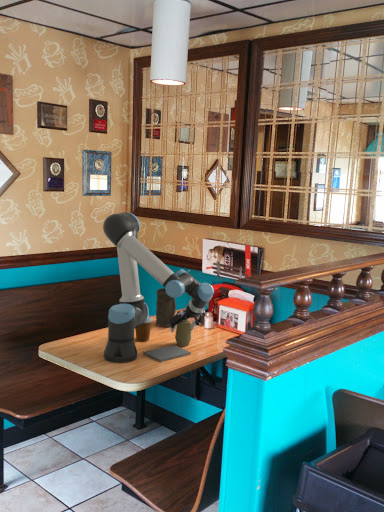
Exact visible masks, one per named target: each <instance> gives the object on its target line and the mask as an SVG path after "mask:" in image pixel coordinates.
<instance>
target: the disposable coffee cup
mask: <svg viewBox="0 0 384 512" xmlns="http://www.w3.org/2000/svg"><path fill="white" fill-rule="evenodd" d="M153 320H154V319H153V316H152V315H150V314H148V317H147V319H146V320H145V322H144V323H143V324H141V325H139V326H138V327H136V328H135V329H134V331H135V339H136V341H138V342H139V343H140V342H142V343H144V342H149V341H150V336H151V335H150V334H151V328H152V323H153Z"/></svg>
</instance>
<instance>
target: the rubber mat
mask: <svg viewBox="0 0 384 512" xmlns="http://www.w3.org/2000/svg"><path fill="white" fill-rule="evenodd" d="M142 353H143V355H145V356H146V357H149V358H150V359H153V360H156V361H158V362H160V363H162V362H167V361H171V360H174V359H178V358H182V357H186V356H190V355H192V351H189V350H186V349H184V348H182V347H181V346H180V347H179V346H178V345H175V344H170V345H166V346H161V347H158V348H154V349H150V350H145V351H143V352H142Z"/></svg>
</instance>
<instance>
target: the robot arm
mask: <svg viewBox="0 0 384 512" xmlns="http://www.w3.org/2000/svg"><path fill="white" fill-rule="evenodd" d="M140 229H141V223H140V220H139V218H138V217H137V216H136V215H135V214H133V213H132V212H125V211H123V212H118V213H112V214H109V215H108V216H107V217H106V218H105V219H104V221H103V224H102V230H103V233H104V236H106V238H107V239H108V240H109V241H110V242H111V243H112V244H113V245H114V246H115V247H116V250H117V251H116V252H117V260H118V269H119V271H118V272H119V278H120V279H119V280H120V287H121V288H120V289H121V297H120V298H119V301H118V302H119V304H115V305H112V306H111V307H110V308H109V310H108V316H107V319H108V320H107V321H108V322H107V323H108V325H107V331H108V332H107V343H106V344H105V349H104V350H103V358H104V360H106V361H109V362H111V363H120V364H121V363H129V362H133V361H135V360H137V358H138V351H137V347H136V343H135V328H136V327H138V326H139V325H141V324H143V323H144V322H145V320H146V319H147V317H148V315H150V312H149V306H148V305H147V303H146V302H145V297H144V296H143V295H142V294H141V289H140V288H141V287H140V278H139V277H140V276H139V268H138V265H140V266H141V267H142V268H143V269H144V270H145V271H146V272H147V273H148V274H150V276H151V277H152V278H154V279H155V280H156V281H157V282H158V283H159V284H160V285H161V286H162V287H163V288H165V290H166V293H167V295H168V296H170V297H172V298H175V299H176V298H179V297H181V296H183V295H184V294H187V295H189V297H191V299H190V300H189V301H188V304H186V307H185V309H186V310H185V311H184V312H183V311H182V312H181V310H178V311H177V313H175V315H174V317H173V318H172V319H171V320H169V323H170V326H169V330H170V333H174V332H175V331H176V328H177V324H179V323H180V322H182V321H184V320H187V319H188V318H189V319H193V320H192V321H191V322H190V323H191V332H193V330H194V329H195V328H196V327H197V326H199V325H200V324H203V322H204V317H205V316H206V311H205V308H206V307H207V306H208V304H209V302H210V301H211V300H212V298H213V295H214V293H215V289H214V287H213V286H212V285H211V283H207V282H202V283H201V282H199V281H198V280H197V279H196V278H194V277H193V275H191V274H190V273H189V272H188V271H186V270H184V269H183V268H180V269H179V270H177V271H176V273H175V272H174V271H173V270H172V269H171V268H169V266H167V265H166V264H165V263H164V262H163V261H162V259H160V258H159V257H157V256H156V255H155V254H154V253H153V251H151V250H150V249H149V248H147V246H146V245H144V244H143V243H142V242H141V241H140V240H139V237H138V233H139V231H140ZM185 317H186V318H185Z"/></svg>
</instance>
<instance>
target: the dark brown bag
mask: <svg viewBox="0 0 384 512" xmlns="http://www.w3.org/2000/svg"><path fill="white" fill-rule="evenodd" d="M155 304H156V306H155V307H156V308H155V309H156V311H155V317H156V319H155V320H156V321H155V325H156V326H158V327H162V328H163V327H164V328H165V327H166V328H168V327H171V326H170V323H169V320H171V319H172V318H173V317H174V316H175V315H176V308H177V306H176V305H177V303H176V298H172V297H170V296H168V295H167V293H166V290H165V287H162V288H158V289H156V303H155Z"/></svg>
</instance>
